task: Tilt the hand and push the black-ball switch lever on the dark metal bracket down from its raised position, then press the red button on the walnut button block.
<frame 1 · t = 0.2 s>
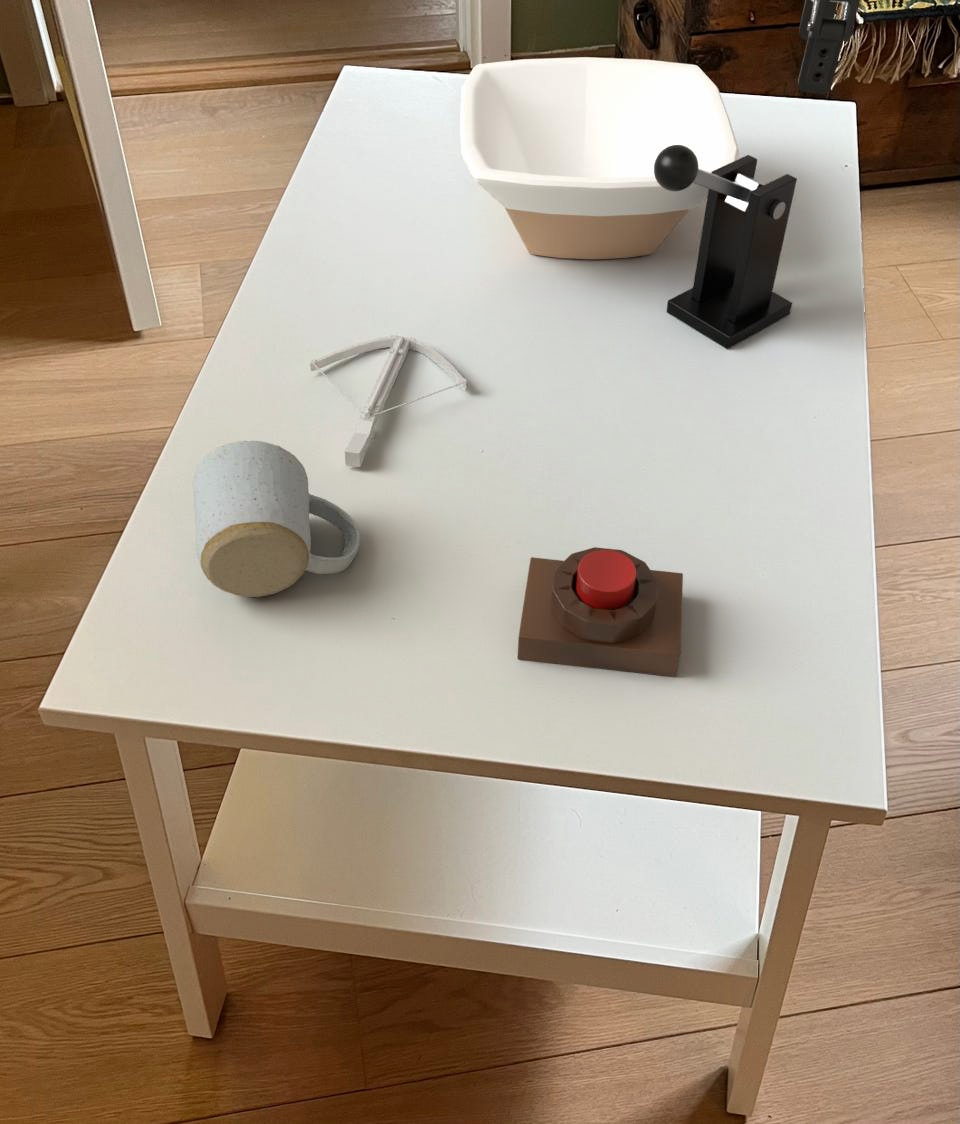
hand: (812, 63, 83), 23 cm above the table, tool pointing down, fingers open, 8 cm apart
bracket: (728, 313, 102), on the table
crossbow: (380, 405, 93), on the table
lever: (714, 182, 89), point 14 cm above the table, hinge at 30.0°
button block: (600, 626, 77), on the table
bowl: (586, 225, 112), on the table
button: (605, 579, 74), point 4 cm above the table, slide at 0.1 cm
ceramic mug: (280, 557, 81), on the table
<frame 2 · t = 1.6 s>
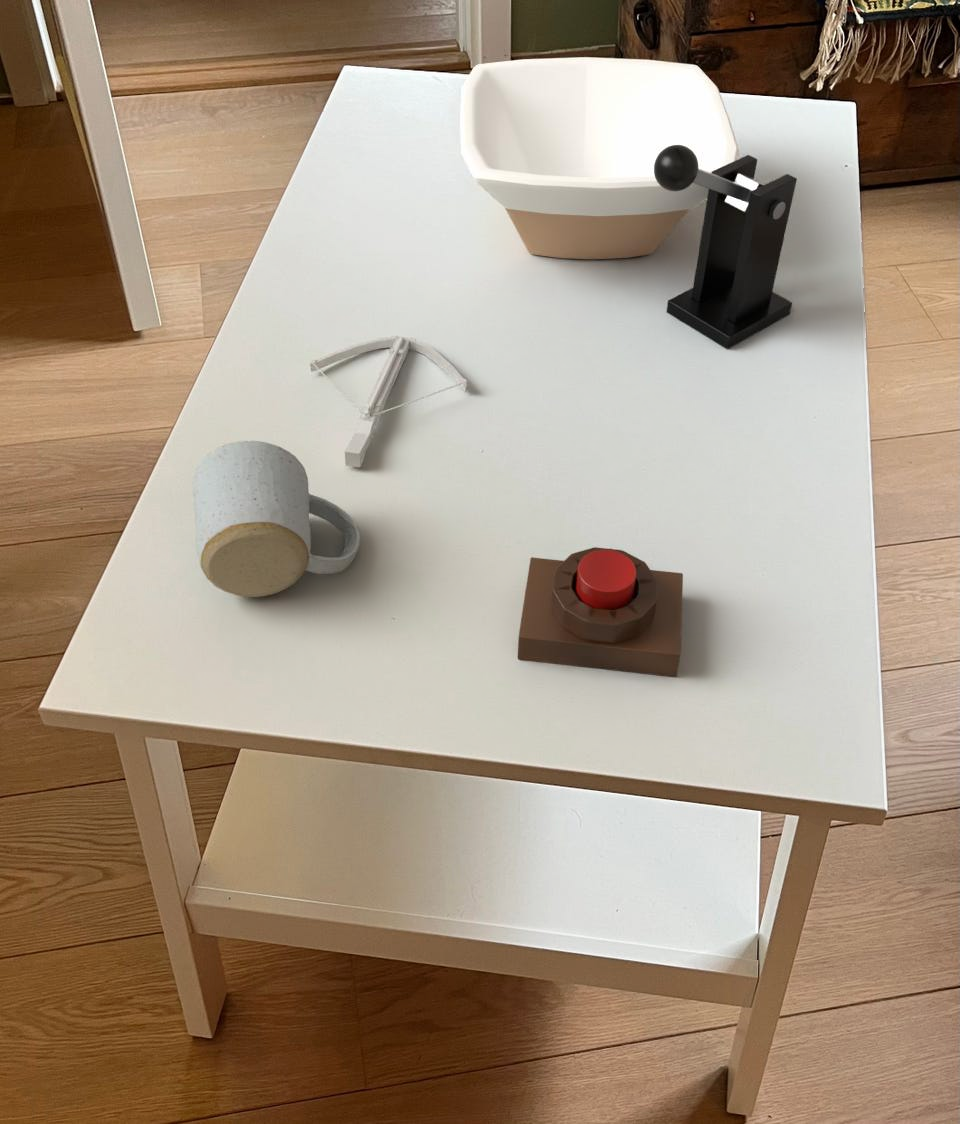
nothing on the table moved.
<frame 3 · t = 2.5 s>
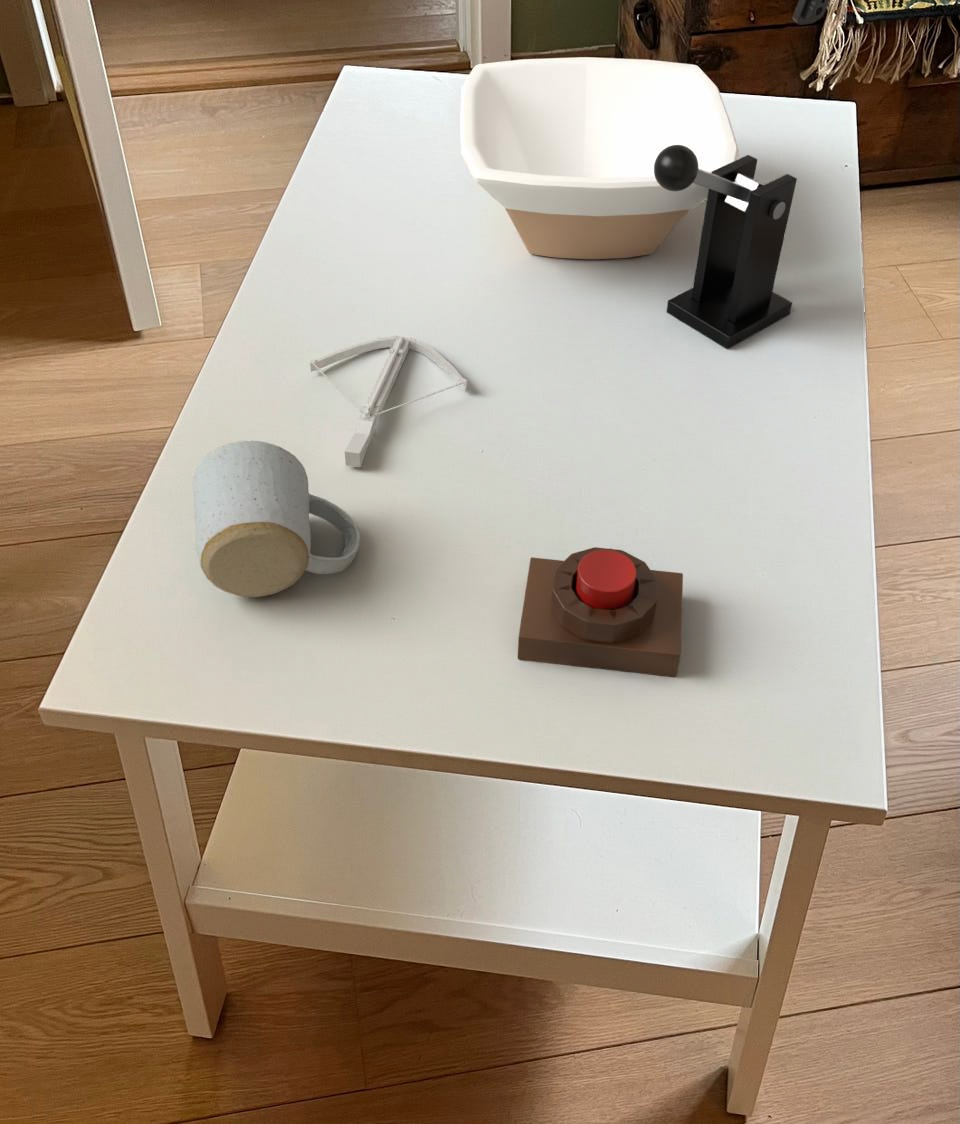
nothing on the table moved.
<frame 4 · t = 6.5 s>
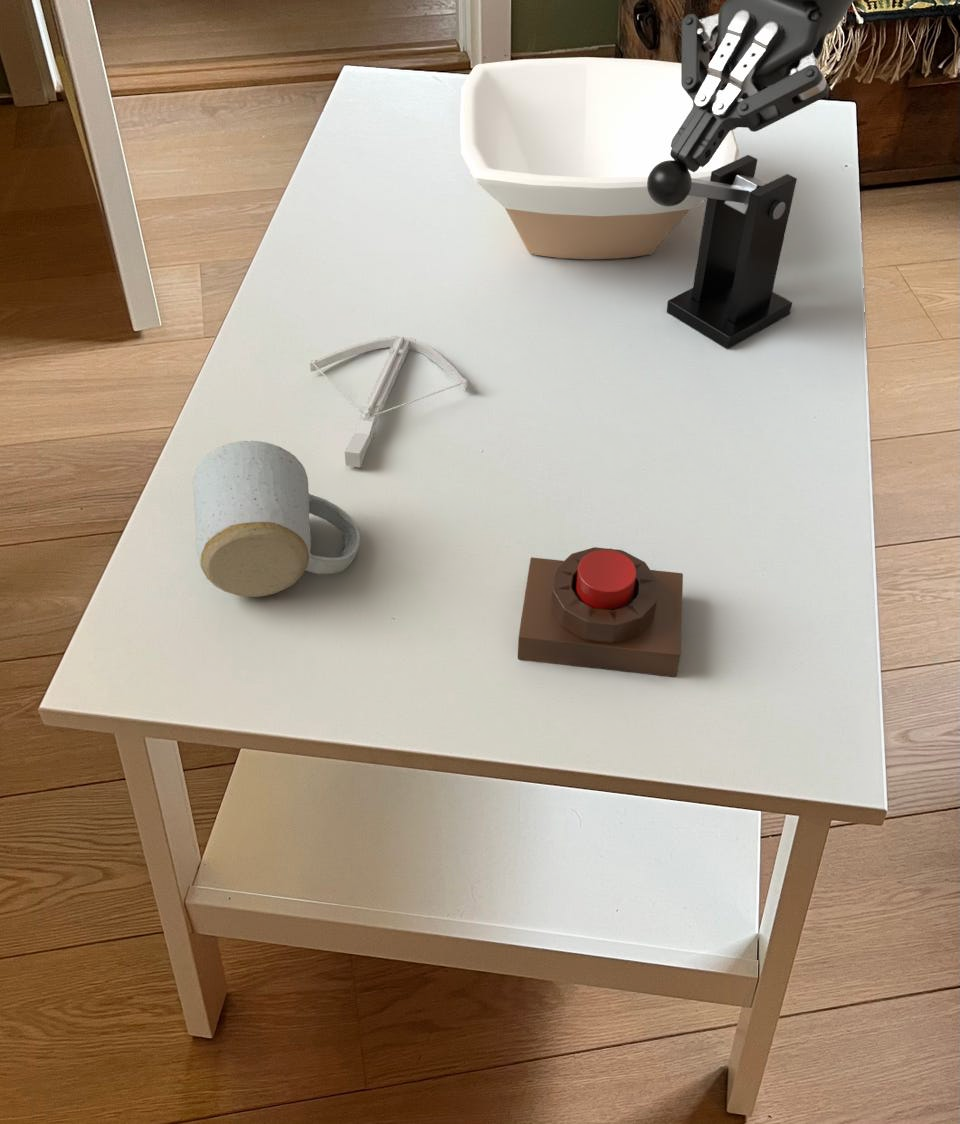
hand: (682, 163, 86), 17 cm above the table, tool tilted 45°, fingers closed
lever: (710, 189, 90), point 13 cm above the table, hinge at 24.0°
everything else where it was.
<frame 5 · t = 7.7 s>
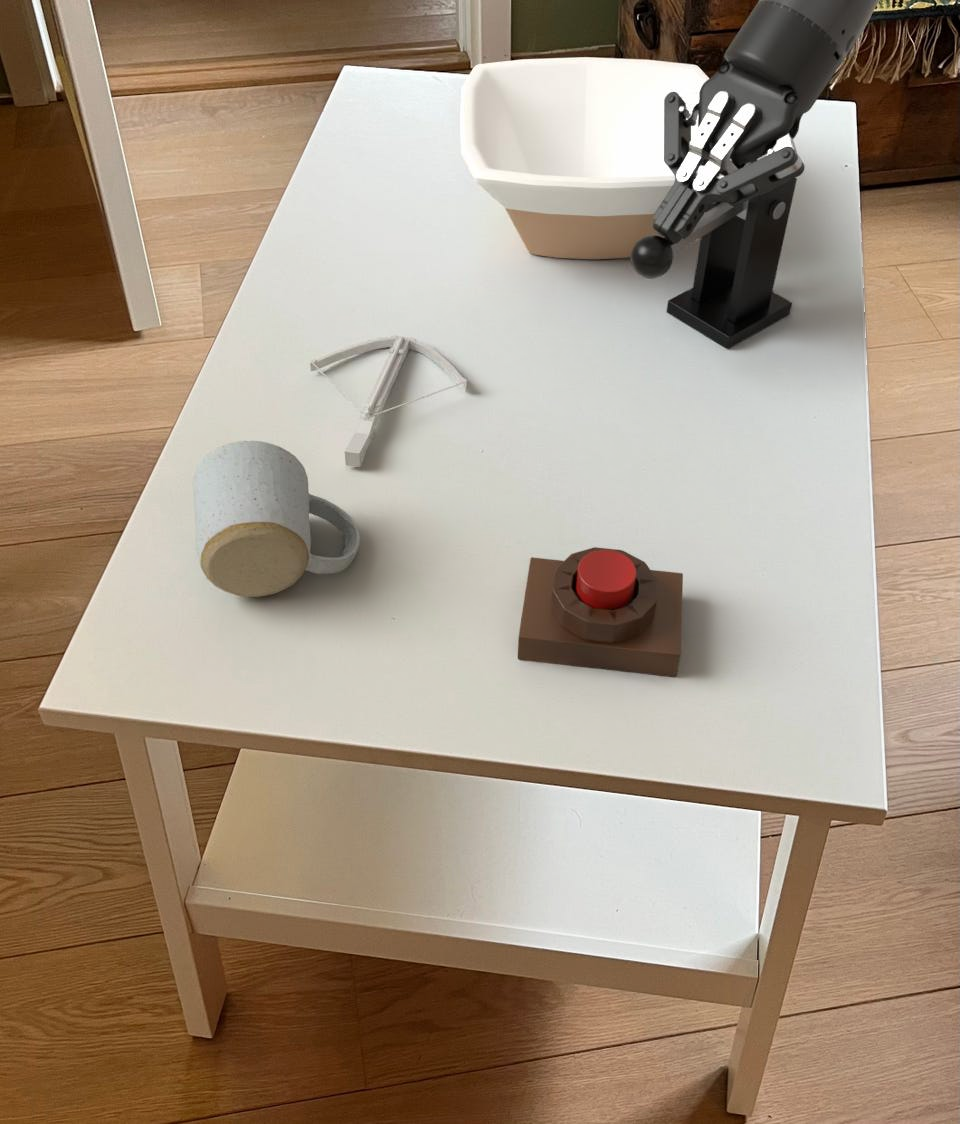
hand: (664, 236, 89), 11 cm above the table, tool tilted 45°, fingers closed
lever: (701, 226, 92), point 10 cm above the table, hinge at -6.6°, touching gripper
everything else where it was.
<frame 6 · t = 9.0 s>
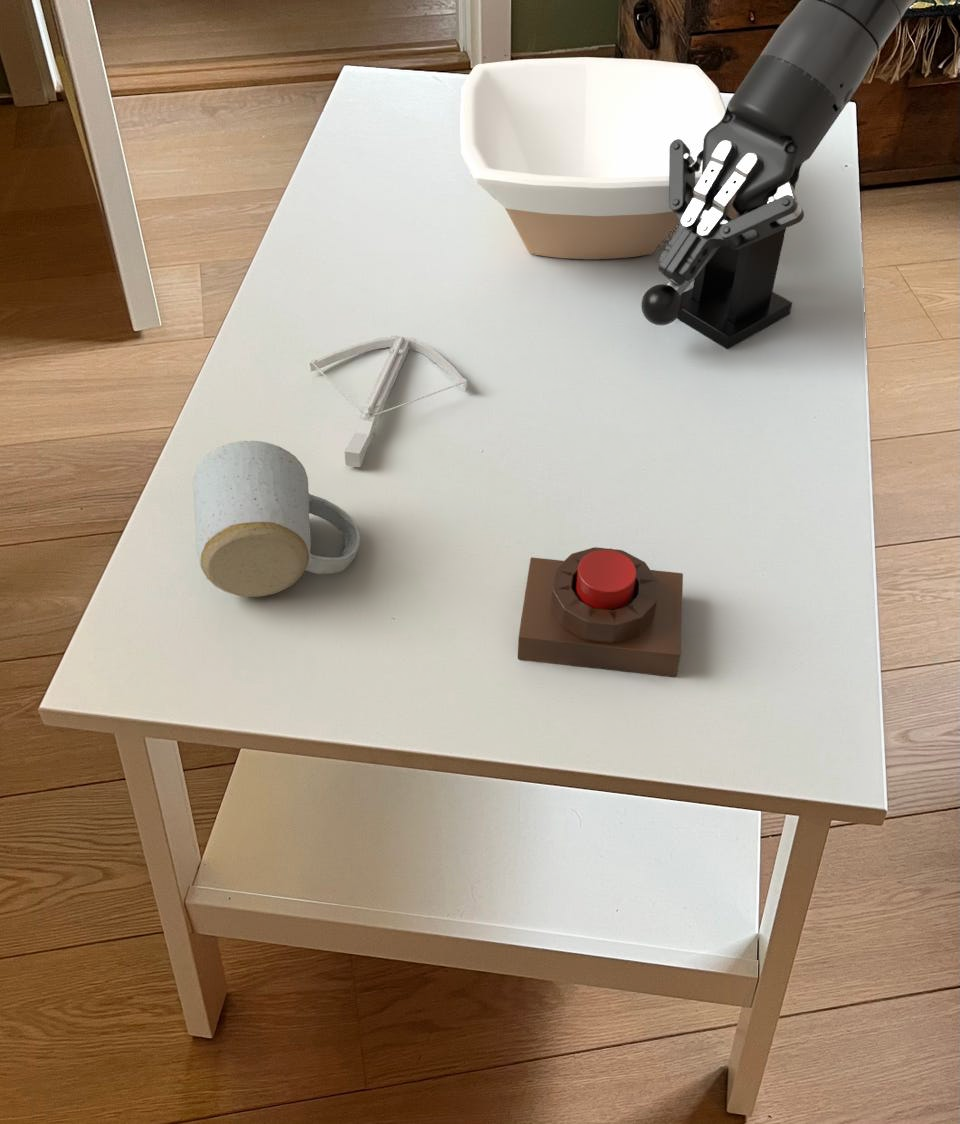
hand: (669, 277, 93), 7 cm above the table, tool tilted 45°, fingers closed
lever: (705, 251, 94), point 8 cm above the table, hinge at -35.2°, touching gripper
everything else where it was.
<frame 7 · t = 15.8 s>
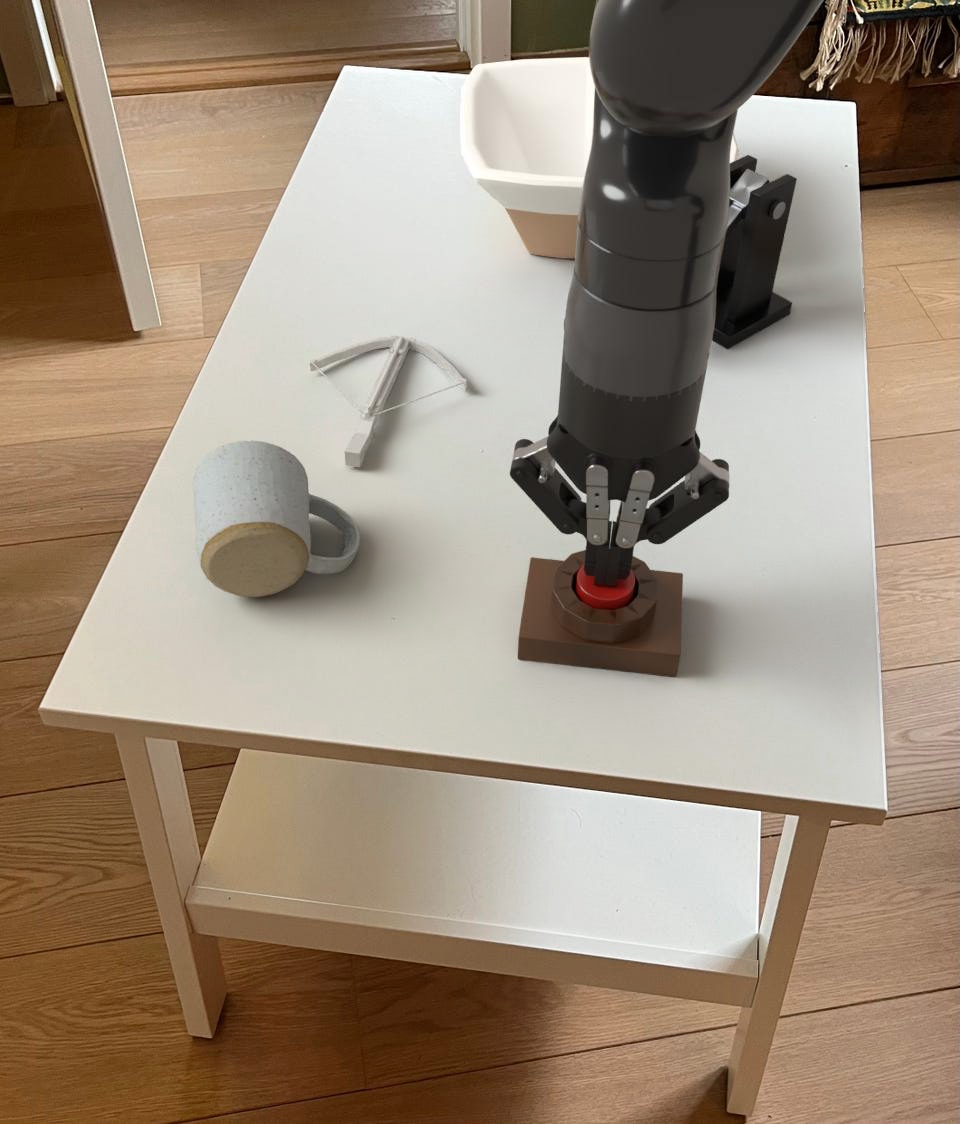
hand: (606, 575, 74), 5 cm above the table, tool pointing down, fingers closed
lever: (705, 251, 94), point 8 cm above the table, hinge at -35.2°
button: (604, 587, 74), point 4 cm above the table, slide at -0.7 cm, touching gripper
everything else where it was.
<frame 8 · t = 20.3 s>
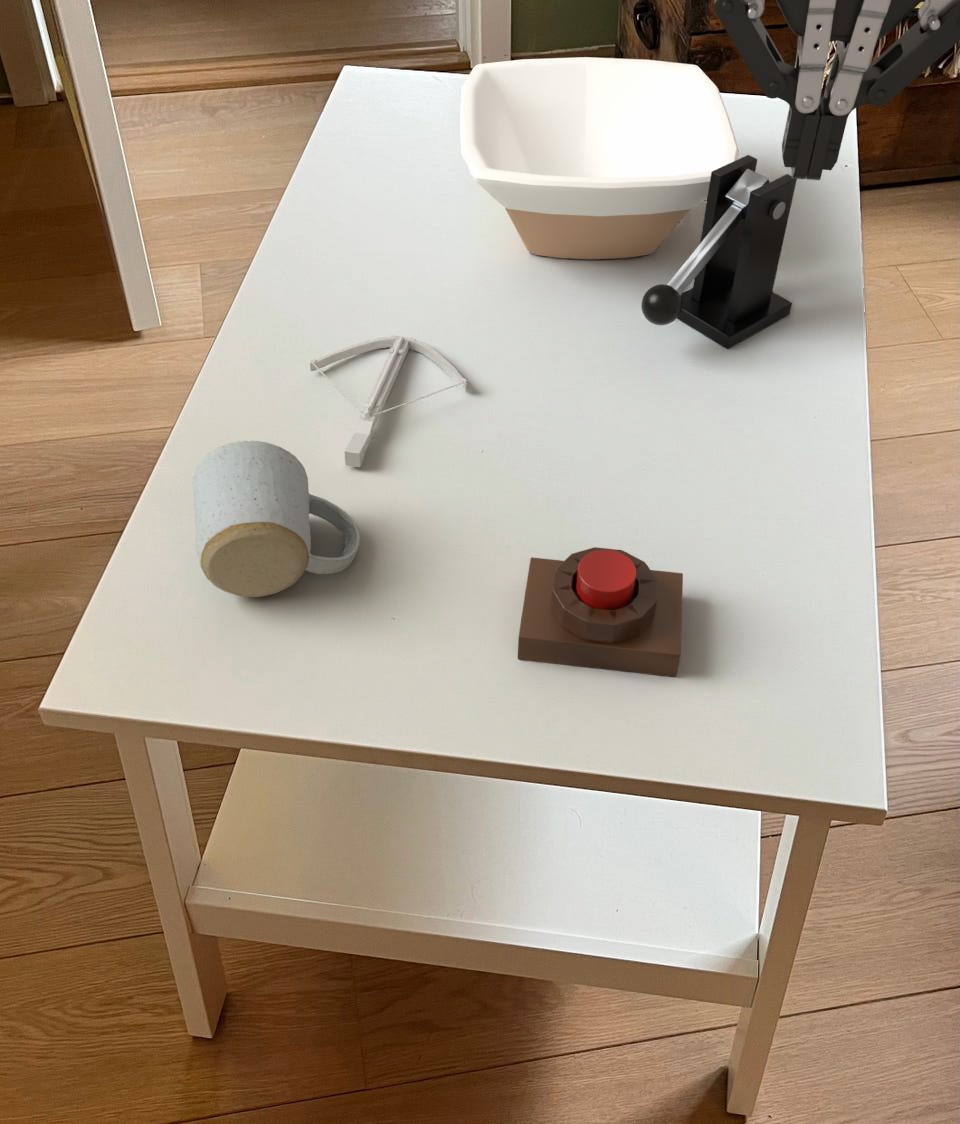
hand: (805, 172, 64), 27 cm above the table, tool pointing down, fingers closed
button: (605, 579, 74), point 4 cm above the table, slide at 0.1 cm
everything else where it was.
at the end: lever at -35° (first picture: +30°); button pushed in 1.1 cm at the most during the clip, back to where it started at the end; button slide at 0.1 cm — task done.
